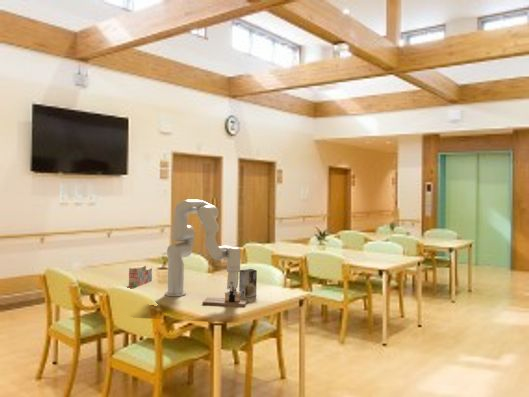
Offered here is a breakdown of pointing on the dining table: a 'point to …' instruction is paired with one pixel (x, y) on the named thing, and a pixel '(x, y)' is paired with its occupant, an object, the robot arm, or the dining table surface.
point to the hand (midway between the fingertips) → (232, 300)
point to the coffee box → (247, 283)
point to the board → (222, 302)
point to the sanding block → (236, 293)
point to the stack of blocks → (139, 275)
